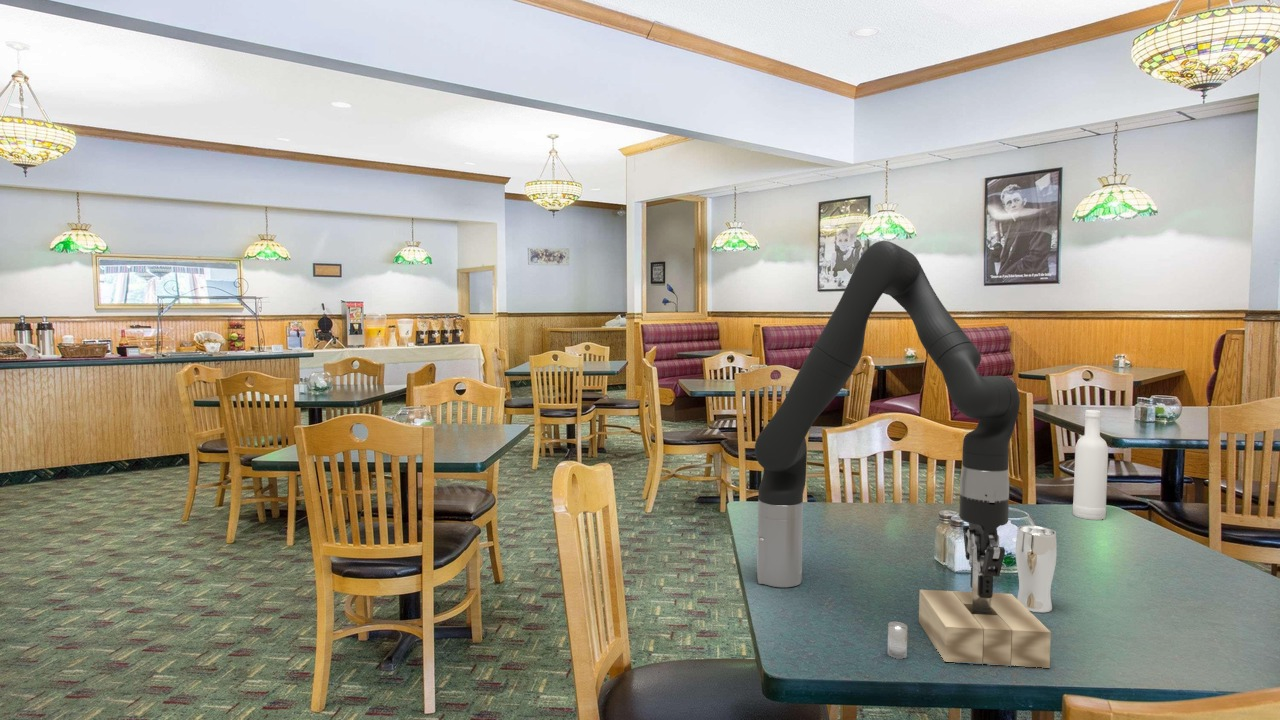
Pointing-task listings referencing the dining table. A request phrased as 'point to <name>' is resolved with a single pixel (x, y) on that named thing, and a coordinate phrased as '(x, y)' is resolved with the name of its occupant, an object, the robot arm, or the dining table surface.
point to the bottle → (1090, 471)
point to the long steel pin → (977, 603)
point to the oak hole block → (984, 630)
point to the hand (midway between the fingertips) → (981, 592)
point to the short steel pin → (897, 640)
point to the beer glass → (1035, 566)
